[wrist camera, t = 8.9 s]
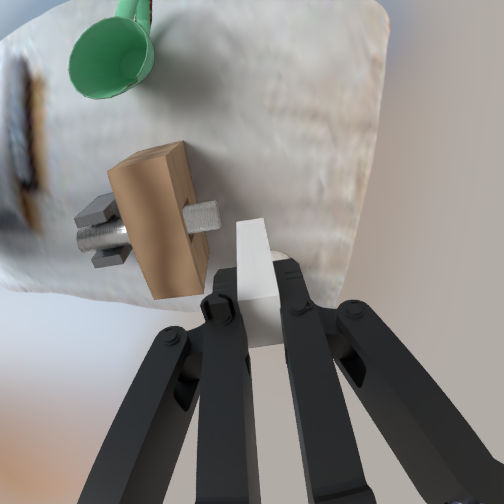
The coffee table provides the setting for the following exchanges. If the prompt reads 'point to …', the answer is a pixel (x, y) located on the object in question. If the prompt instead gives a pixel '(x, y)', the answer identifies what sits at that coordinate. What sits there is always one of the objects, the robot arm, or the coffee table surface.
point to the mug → (114, 52)
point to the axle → (116, 235)
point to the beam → (161, 219)
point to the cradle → (100, 213)
